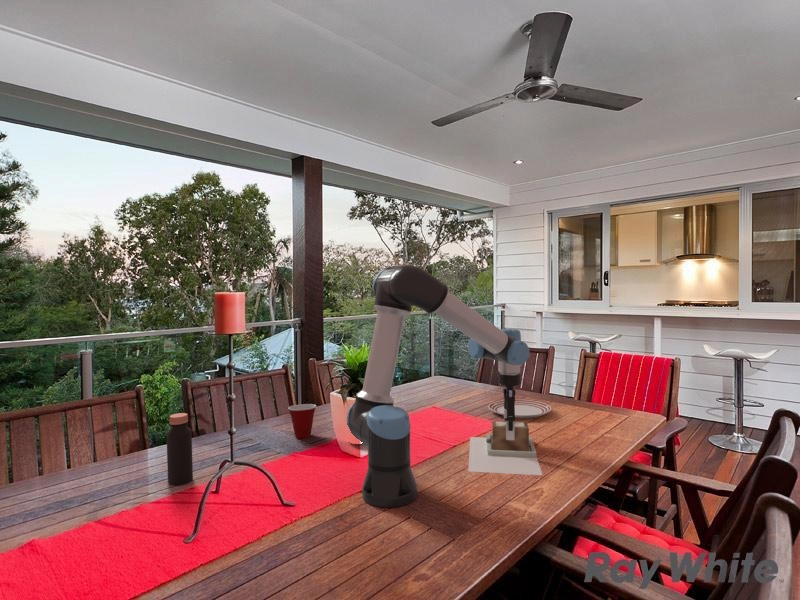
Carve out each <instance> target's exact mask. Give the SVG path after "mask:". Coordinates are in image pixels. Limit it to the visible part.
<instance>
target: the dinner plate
mask: <svg viewBox="0 0 800 600" xmlns="http://www.w3.org/2000/svg"><path fill="white" fill-rule="evenodd" d="M487 408H488V410H490V411H492V412H493V413H496V414H498V415H501V416H503V417H504V410H506V409H504V399H502V400H497V401H493V402H491V403H489V404H488V406H487ZM552 409H553V408H552V406H551V405H549V404H547V403H545V402H542V401H538V400H537V401H536V400H529V399H515V419H518V420H525V419H526V420H527V419H528V420H529V419H535V418H539V417H542V416H544V415H546V414H548V413H550V412H551V411H552Z"/></svg>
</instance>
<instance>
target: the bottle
mask: <svg viewBox="0 0 800 600" xmlns="http://www.w3.org/2000/svg"><path fill="white" fill-rule="evenodd" d="M188 415H189V414H188V413H185V412H180V413H179V412H178V413H173V414H171V415H169V426H170V429H169V430H168V431H167V433H166V460H167V461H166V463H167V484H169V485H170V486H173V487H175V486H177V487H179V486H183V485H186V484H189V483H191V482H192V480H193V479H194V473H193V472H194V469H193V441H192V435H193V434H192V429H191V428H190V427H189V426H188V422H189V416H188Z"/></svg>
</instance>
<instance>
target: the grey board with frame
mask: <svg viewBox="0 0 800 600" xmlns="http://www.w3.org/2000/svg"><path fill="white" fill-rule="evenodd" d="M469 438H470V439H469V457H468V468H467V470H468V471H467V472H470V473H471V472H472V473H488V474H489V473H490V474H507V475H512V474H513V475H524V476H525V475H527V476H543V471H542V469H541V466H540V463H539V460H538V456H537V454H538V453H537V451H536V447H535V445H534V444H535V443H534V442H533V438H532V435H529V451H509V450H493V443H492V433H490V434H489V433H487V434H486V437H475V436H471V437H469Z"/></svg>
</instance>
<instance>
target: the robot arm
mask: <svg viewBox="0 0 800 600" xmlns="http://www.w3.org/2000/svg"><path fill="white" fill-rule="evenodd" d="M372 281H373V282H372V292H373V295H374V303H373V307H374V309H375V311H376V318H375V323H374V324H375V325H374V330H373V334H372V339H371V345H370V350H369V355H368V360H367V365H366V369H365V374H364V380H363V386H362V389H360V391H359V392H356V394H355V399H354V402H353V403H352V404H351V405H350V407H349V408H348V411H347V413H346V414H347V415H346V422H347V425H348V427H349V429H350V431H351V433H352V434H353V435H354V436H355V437H356V438H357V439H359V440H360V441H361V442H363V445H365V446H366V447H367V470H366V473H365V477H364V481H363V484H362V489H361V491H362V493H361V494H362V495H361V496H362V499H363V501H364V502H365V503H367V504H369V505H371V506H375V507H379V508H397V507H402V506H403V507H404V506H406V505H409V504H411V503H413V501H415V500H416V498H417V497H418V485H417V482H416V479H415V476H414V472H413V470H412V467H411V420H410V415H409V413H408V412H407V411H406V410H405V409H404V408H402V407H399V406H394V403H395V400H394V399H393V397H392V396H391V391H392V387H393V381H394V376H395V372H396V371H395V370H396V365H397V360H398V356H399V355H398V354H399V351H400V350H399V349H400V344H401V340H402V334H403V329H404V324H405V319H406V317H407V316H409V315H410V314H411V313H412V308H413V307H416V308H419V309H420V310H423V311H425V313H427V314H430V315H431V314H434V315H436V316H438V317H439V318H441V320H443V321H444V322H446V323H448V324H449V325H450V326H452V327H453V328H454V329H456V330H458V331H459V332H460V333H462V334H464V335H465V336H467V337H468V338H470V339H469V340H468V342H467V343H468V344H467V349H468V354H469V356H471V358H472V359H474V360H476V359H480V360H482V359H487V360H492V361H496V362H498V363H497V367H498V368H497V369H498V370H497V371H498V372H499V373H498V377H497V378H498V384H499V385H501V386H504V388H503V389H502V393H503V400H504V409H506V410H504V416H503V422H506V440H514V435H515V422H516V418H515V400H516V389H515V388H514V387H515V386H516V387H518V386H520V385H521V380H522V379H521V376H522V375H521V374H520V373H521V367H523V365H524V364H525V363H526V362H527V361H528V359H529V357H530V347H529V346H528V344H527V343H526V342H524V341H522V335H521V331H520V330H519V329H518V328H498V327H497V326H496V325H495V324H493V323H492V322H491V321H489V320H488V319H487V318H485V317H483V316H482V315H481V314H480V313H478V312H477V311H475V310H474V308H472V307H470V306H468V304H466V303H465V302H463V301H462V300H460V299H459V297H456V296H455V295H454V294H452V293H451V292H450V291H449V287H448V285H446V284H445V283H444V282H442V281H441V280H440V279H438V278H437V277H435V276H434V275H433V274H431V273H429V272H428V271H426V270H425V269H423V268H421V267H420V266H417V265H414V264H405V265H391V266H387V267H386V268H383V269H382V270H380V271H379V272H378V273H376V275H375V276H374V279H373V280H372Z"/></svg>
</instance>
